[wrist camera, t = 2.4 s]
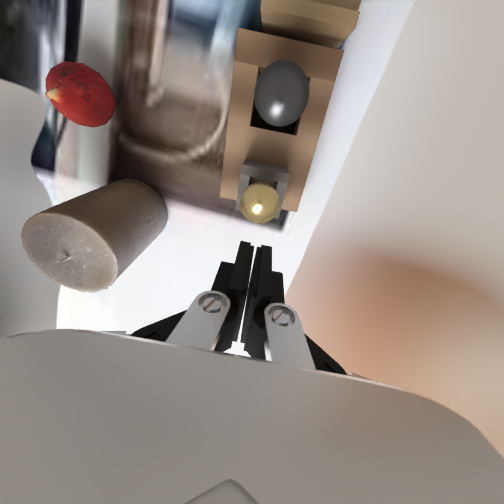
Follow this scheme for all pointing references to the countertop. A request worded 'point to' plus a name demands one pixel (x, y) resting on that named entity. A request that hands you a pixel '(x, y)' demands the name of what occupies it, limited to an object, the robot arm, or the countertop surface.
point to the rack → (310, 20)
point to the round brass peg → (259, 202)
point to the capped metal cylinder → (281, 93)
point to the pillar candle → (95, 234)
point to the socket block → (266, 140)
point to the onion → (80, 94)
